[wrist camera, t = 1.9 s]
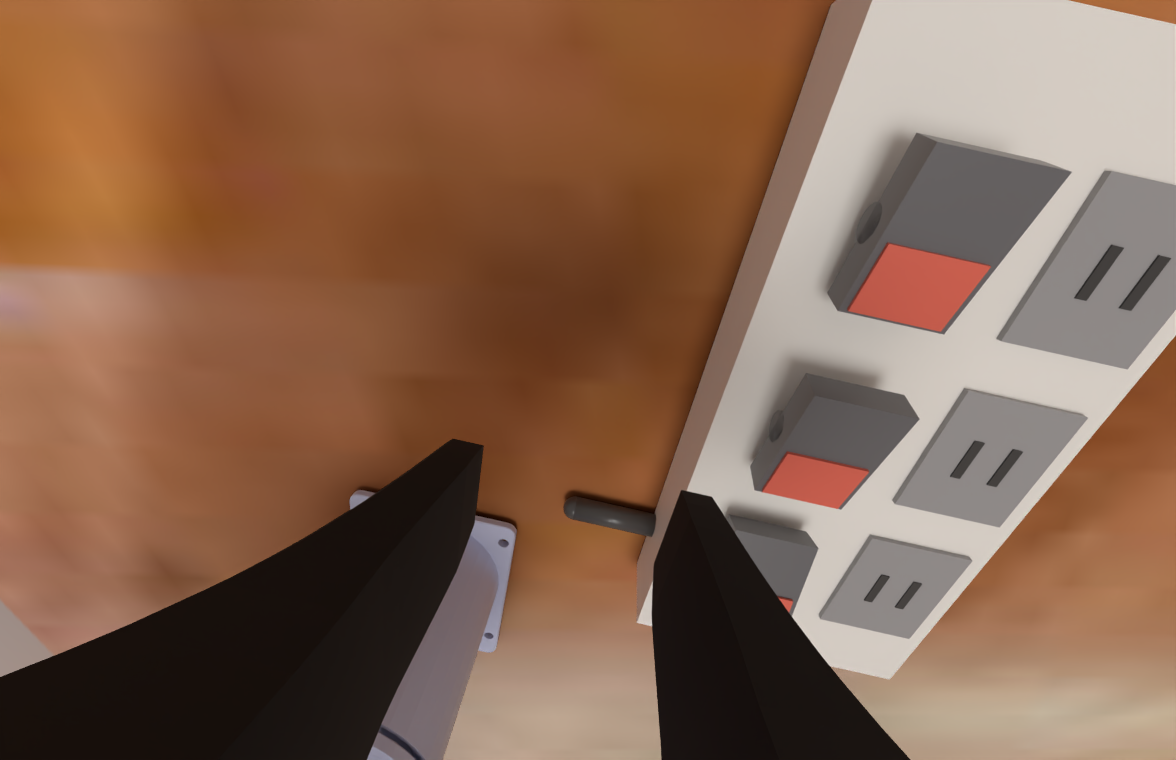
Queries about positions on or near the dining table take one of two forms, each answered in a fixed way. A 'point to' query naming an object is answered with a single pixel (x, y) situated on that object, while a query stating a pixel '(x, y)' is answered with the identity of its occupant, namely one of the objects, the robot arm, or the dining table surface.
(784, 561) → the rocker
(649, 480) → the dining table surface
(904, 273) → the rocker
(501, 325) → the dining table surface
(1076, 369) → the power strip
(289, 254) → the dining table surface
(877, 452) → the rocker middle
